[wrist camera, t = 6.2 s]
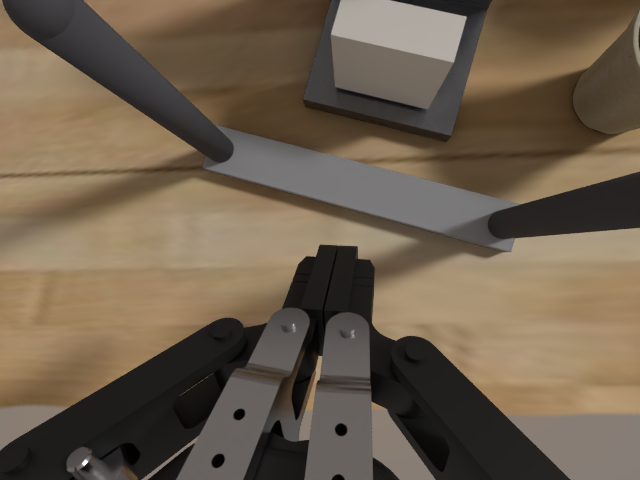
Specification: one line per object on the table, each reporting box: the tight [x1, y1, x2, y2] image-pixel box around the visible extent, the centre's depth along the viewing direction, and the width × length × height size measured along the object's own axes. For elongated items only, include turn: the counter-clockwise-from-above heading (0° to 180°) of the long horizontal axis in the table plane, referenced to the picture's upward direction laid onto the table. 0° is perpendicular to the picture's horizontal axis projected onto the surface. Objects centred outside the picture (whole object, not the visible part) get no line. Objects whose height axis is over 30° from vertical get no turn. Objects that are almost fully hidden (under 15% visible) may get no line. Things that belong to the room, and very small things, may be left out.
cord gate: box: [2, 0, 640, 252], centre depth 20 cm, size 4×27×20 cm, turn 74°
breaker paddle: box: [331, 0, 467, 109], centre depth 25 cm, size 3×8×7 cm, turn 74°
